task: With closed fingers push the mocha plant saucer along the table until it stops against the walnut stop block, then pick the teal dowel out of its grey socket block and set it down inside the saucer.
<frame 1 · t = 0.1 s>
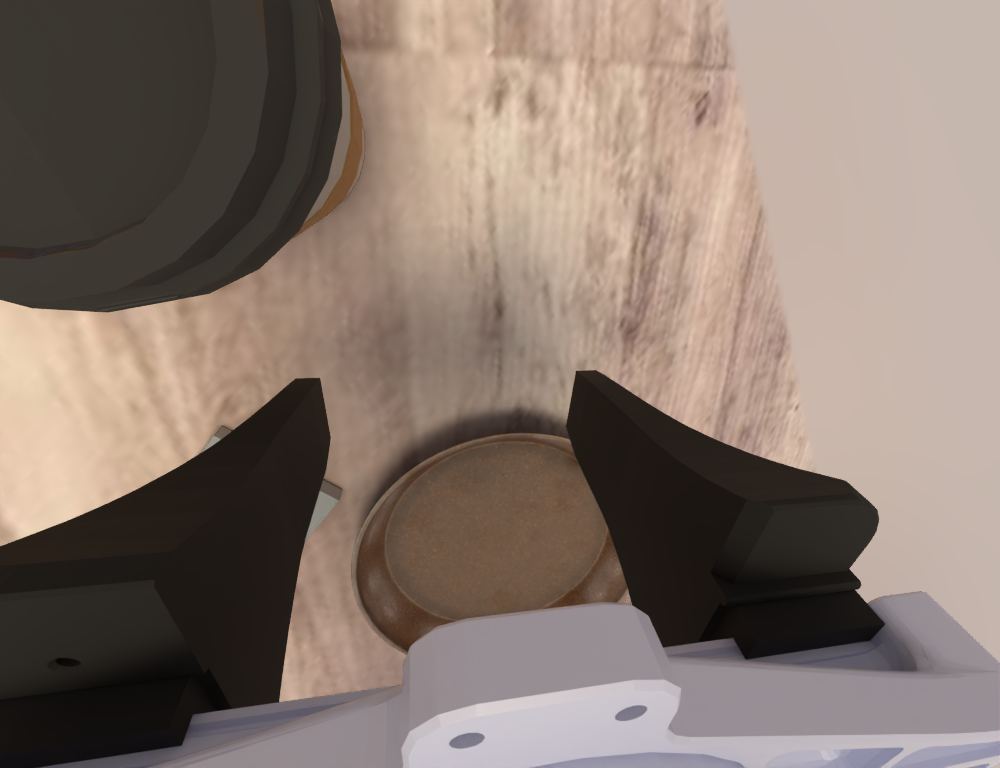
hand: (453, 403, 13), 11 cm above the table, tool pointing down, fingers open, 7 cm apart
socket block: (236, 521, 25), on the table
coffee cup: (288, 136, 18), on the table
plant saucer: (499, 530, 29), on the table
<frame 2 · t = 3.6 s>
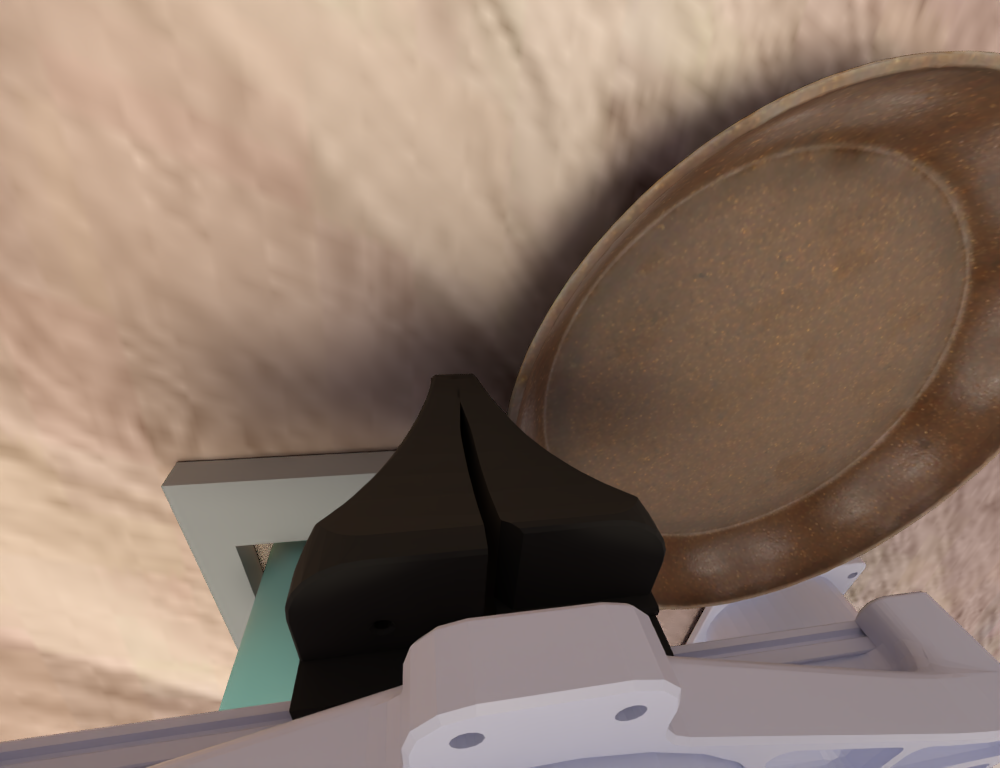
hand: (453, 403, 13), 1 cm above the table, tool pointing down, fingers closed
dowel: (306, 635, 14), in the socket block
socket block: (322, 556, 17), on the table
plant saucer: (737, 373, 15), on the table, touching gripper
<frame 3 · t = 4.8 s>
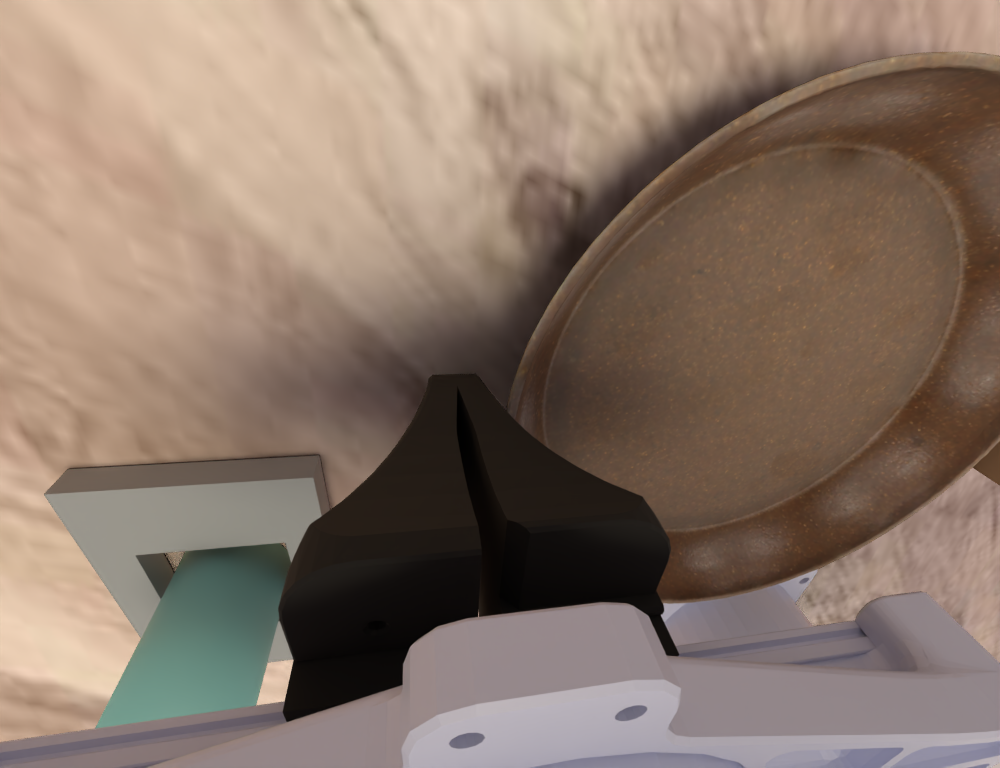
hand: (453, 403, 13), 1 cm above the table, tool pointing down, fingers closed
dowel: (207, 648, 14), in the socket block
socket block: (239, 564, 16), on the table
stop block: (994, 368, 17), on the table
plant saucer: (734, 370, 16), on the table, touching gripper
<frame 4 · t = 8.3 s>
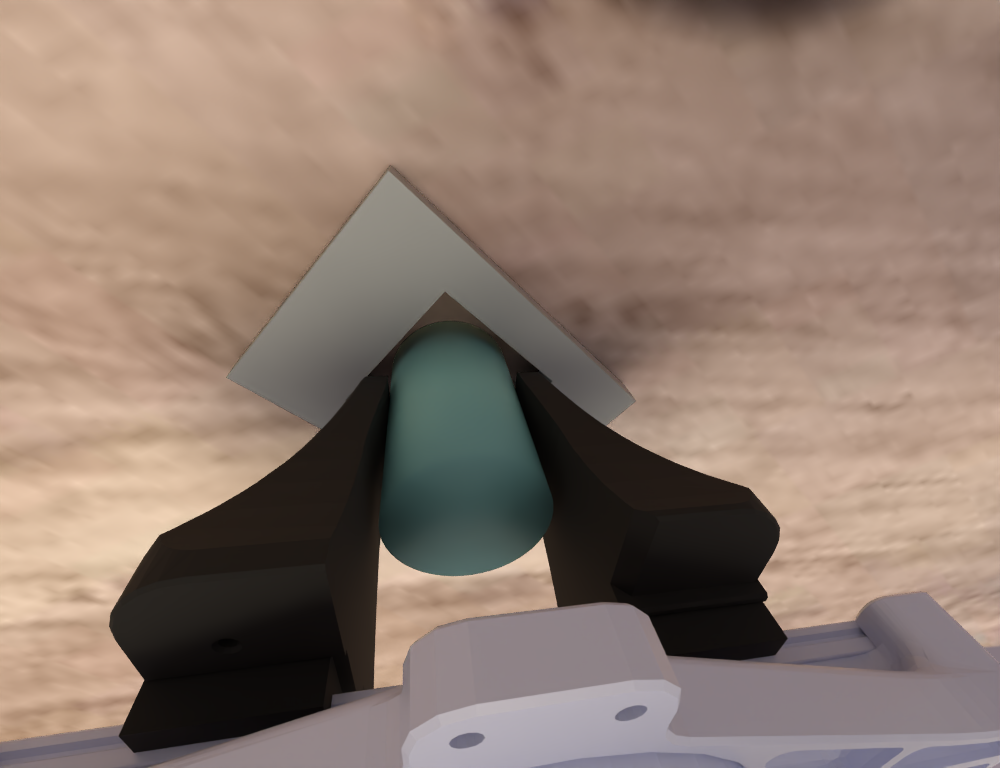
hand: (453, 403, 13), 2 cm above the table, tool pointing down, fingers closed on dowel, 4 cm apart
dowel: (457, 431, 12), in the socket block, touching gripper
socket block: (450, 373, 14), on the table
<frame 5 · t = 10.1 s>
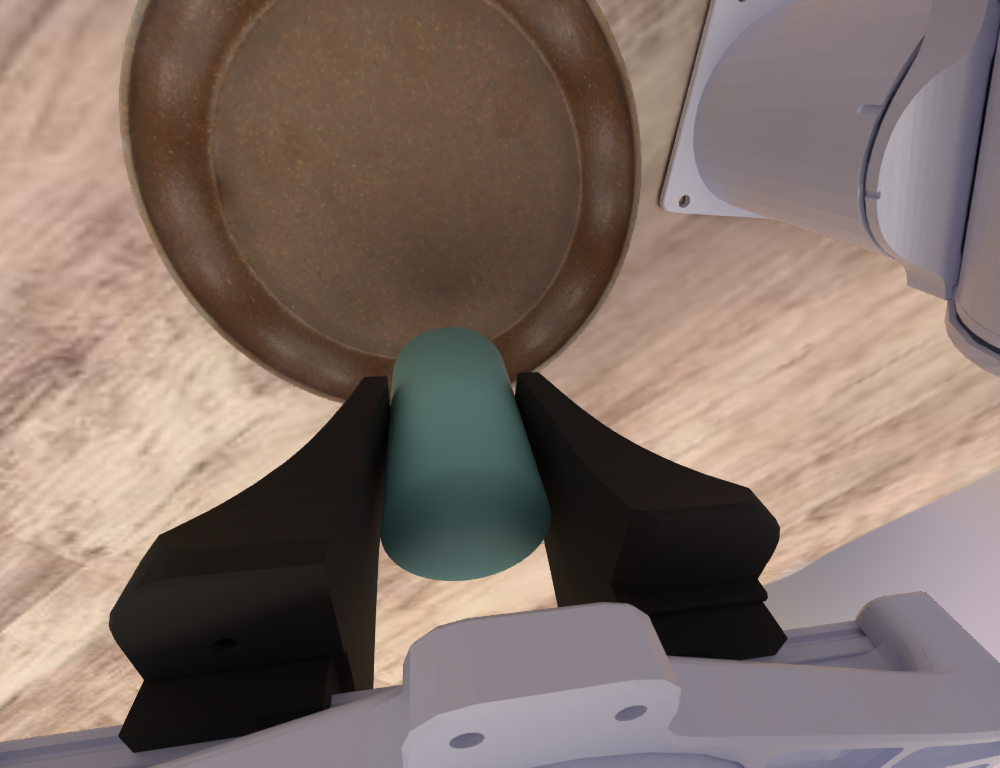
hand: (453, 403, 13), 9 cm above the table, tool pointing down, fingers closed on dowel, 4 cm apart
dowel: (457, 437, 12), point 10 cm above the table, touching gripper
plant saucer: (408, 199, 19), on the table
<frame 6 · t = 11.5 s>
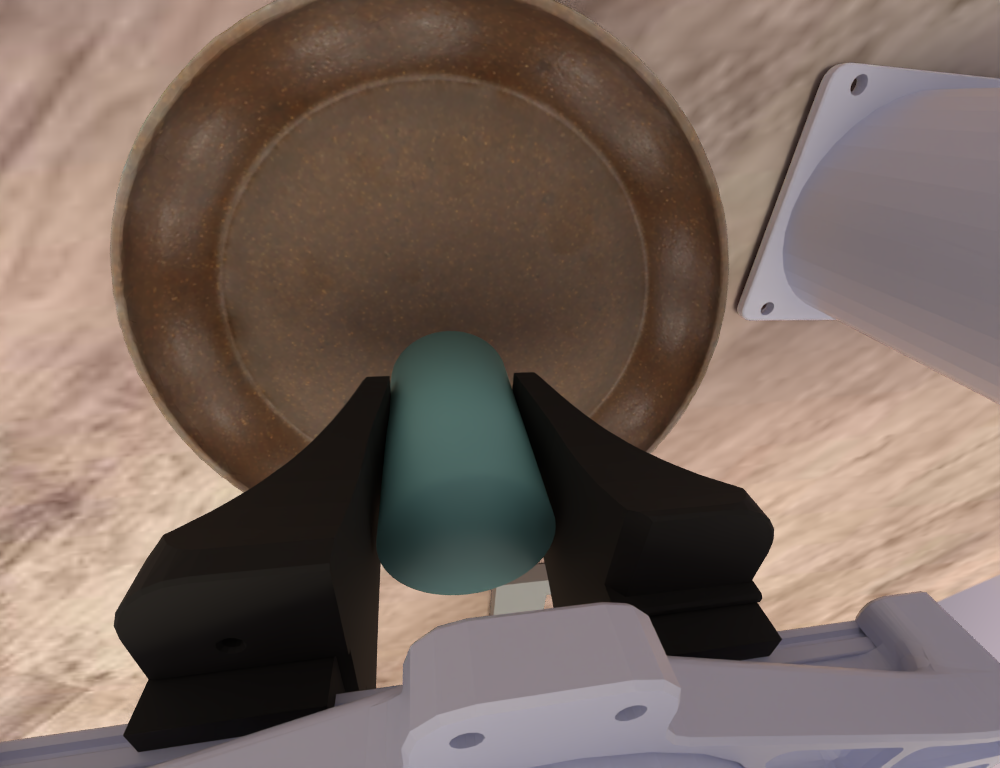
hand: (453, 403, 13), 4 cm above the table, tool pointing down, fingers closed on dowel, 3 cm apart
dowel: (457, 444, 11), point 6 cm above the table, touching gripper, plant saucer
socket block: (573, 597, 26), on the table
plant saucer: (446, 316, 16), on the table, touching dowel
when the fingers open (4 cm above the table, at t = 11.8 s): dowel stays where it is, resting on plant saucer.
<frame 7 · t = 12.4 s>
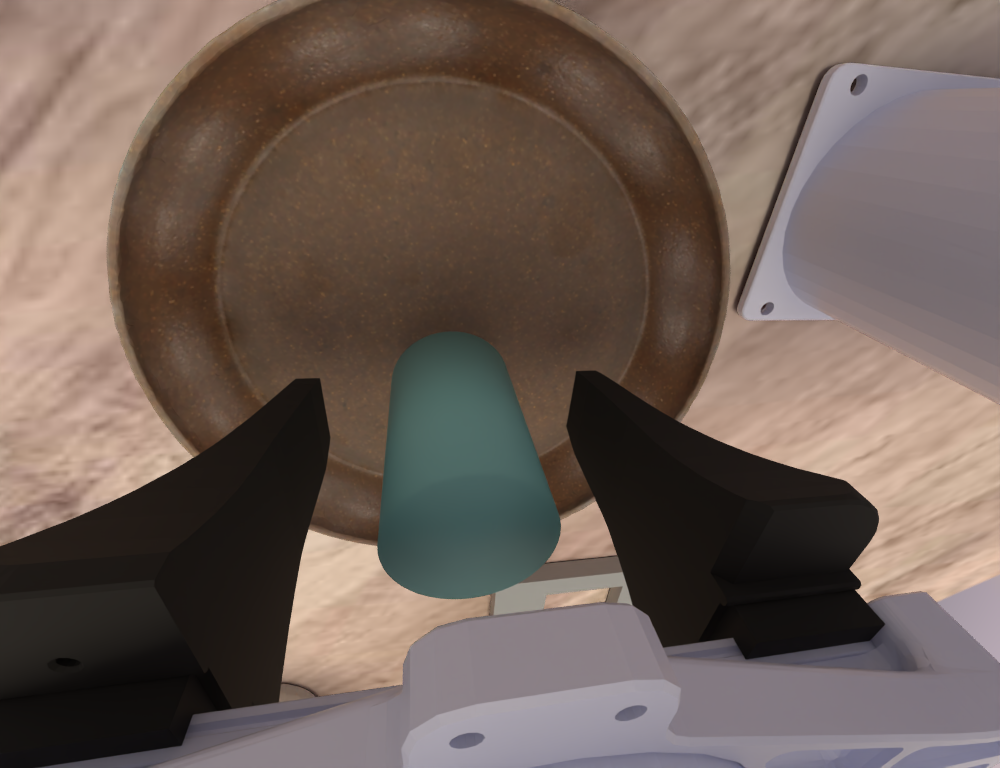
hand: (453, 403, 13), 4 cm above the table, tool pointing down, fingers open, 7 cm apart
dowel: (459, 445, 11), point 6 cm above the table, touching plant saucer
socket block: (573, 597, 26), on the table
coffee cup: (268, 703, 27), on the table
plant saucer: (445, 318, 16), on the table, touching dowel
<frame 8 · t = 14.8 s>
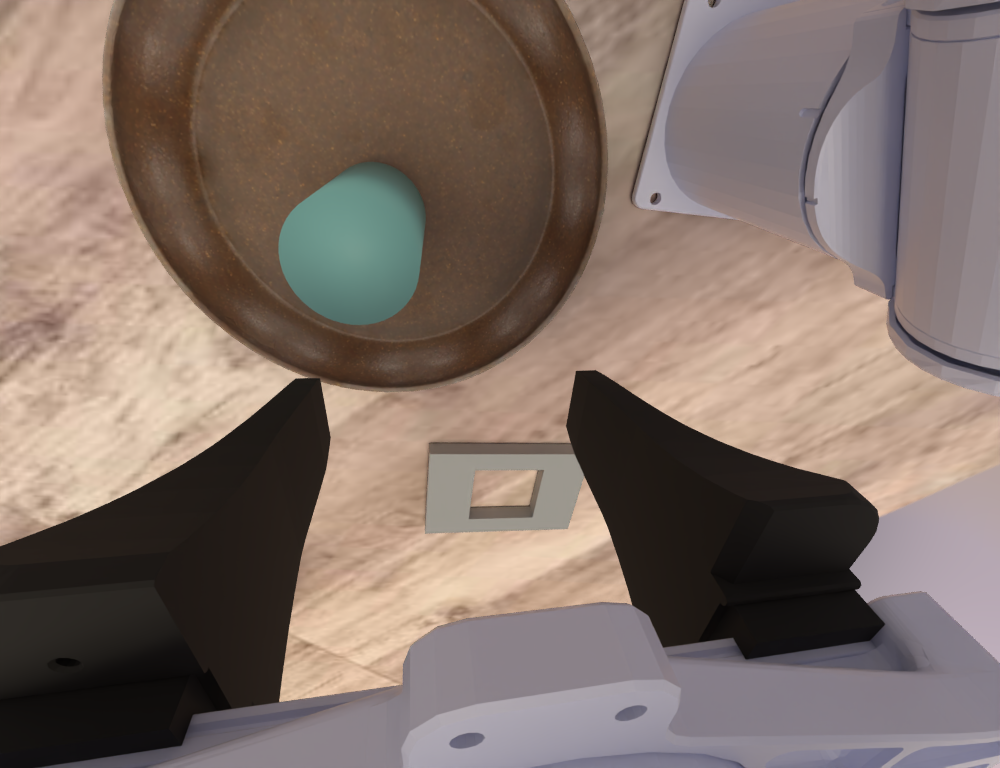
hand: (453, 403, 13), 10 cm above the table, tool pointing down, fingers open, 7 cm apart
dowel: (366, 234, 14), point 6 cm above the table, touching plant saucer
socket block: (503, 483, 29), on the table
plant saucer: (386, 183, 19), on the table, touching dowel
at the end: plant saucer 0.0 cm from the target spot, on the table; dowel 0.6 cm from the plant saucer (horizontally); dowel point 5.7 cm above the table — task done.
